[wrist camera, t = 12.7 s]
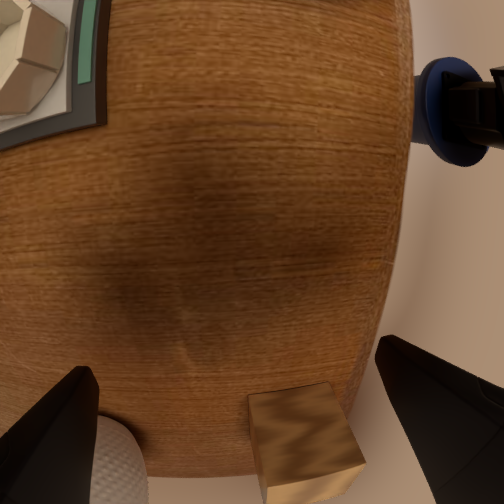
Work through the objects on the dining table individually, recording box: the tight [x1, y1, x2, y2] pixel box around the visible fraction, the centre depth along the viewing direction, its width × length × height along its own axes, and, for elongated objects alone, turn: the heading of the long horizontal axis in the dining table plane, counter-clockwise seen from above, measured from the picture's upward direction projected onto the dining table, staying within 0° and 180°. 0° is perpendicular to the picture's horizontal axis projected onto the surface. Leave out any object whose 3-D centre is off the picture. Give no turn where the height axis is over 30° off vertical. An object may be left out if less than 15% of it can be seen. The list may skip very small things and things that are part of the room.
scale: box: [0, 0, 111, 152], centre depth 11 cm, size 9×11×3 cm
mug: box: [90, 415, 149, 504], centre depth 19 cm, size 15×11×13 cm
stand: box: [248, 382, 366, 504], centre depth 23 cm, size 8×8×10 cm
